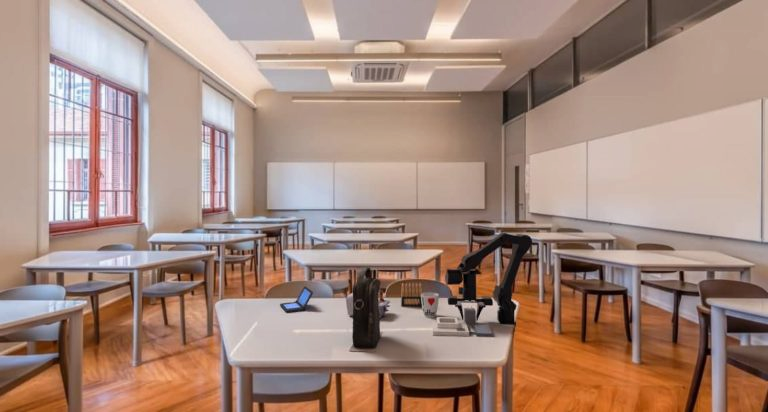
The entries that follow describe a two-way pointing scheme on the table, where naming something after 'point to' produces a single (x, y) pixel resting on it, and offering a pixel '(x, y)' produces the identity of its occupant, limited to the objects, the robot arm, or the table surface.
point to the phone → (483, 330)
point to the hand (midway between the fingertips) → (469, 320)
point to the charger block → (470, 316)
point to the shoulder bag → (366, 312)
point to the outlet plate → (450, 327)
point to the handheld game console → (298, 302)
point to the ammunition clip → (411, 296)
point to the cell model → (381, 301)
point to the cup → (429, 304)
